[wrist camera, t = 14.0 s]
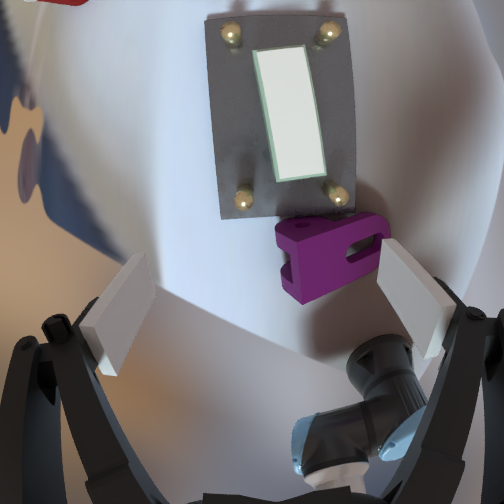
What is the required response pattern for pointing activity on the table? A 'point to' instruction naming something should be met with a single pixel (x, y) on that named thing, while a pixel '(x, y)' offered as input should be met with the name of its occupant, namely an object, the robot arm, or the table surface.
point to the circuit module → (289, 112)
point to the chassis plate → (252, 122)
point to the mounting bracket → (327, 252)
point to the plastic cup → (63, 2)
